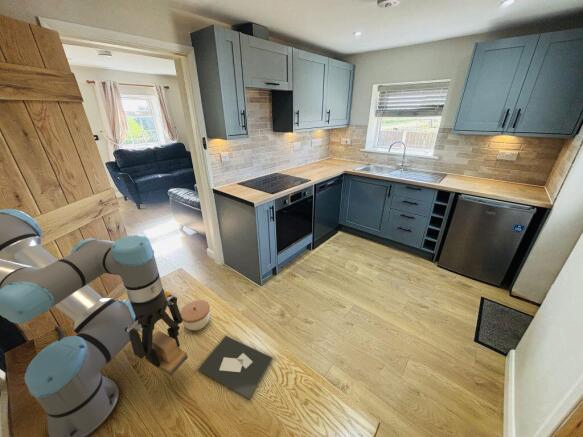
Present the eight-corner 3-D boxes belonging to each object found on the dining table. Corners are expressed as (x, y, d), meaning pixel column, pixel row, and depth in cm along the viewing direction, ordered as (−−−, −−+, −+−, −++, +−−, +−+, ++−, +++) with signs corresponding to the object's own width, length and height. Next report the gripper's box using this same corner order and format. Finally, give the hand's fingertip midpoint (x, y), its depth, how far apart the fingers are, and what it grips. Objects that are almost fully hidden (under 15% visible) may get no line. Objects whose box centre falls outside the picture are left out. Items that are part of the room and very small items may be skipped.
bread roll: (177, 299, 107) (175, 292, 105) (157, 312, 100) (155, 305, 98) (167, 292, 111) (165, 285, 109) (147, 303, 104) (145, 296, 102)
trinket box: (216, 314, 99) (213, 297, 95) (205, 336, 89) (201, 318, 85) (191, 312, 100) (187, 295, 96) (178, 334, 90) (173, 316, 86)
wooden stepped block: (147, 361, 70) (139, 341, 66) (164, 344, 75) (158, 325, 71) (171, 376, 66) (164, 355, 62) (187, 357, 71) (182, 337, 67)
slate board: (198, 370, 78) (197, 369, 77) (226, 337, 89) (225, 335, 89) (249, 399, 70) (249, 398, 70) (272, 359, 82) (272, 357, 81)
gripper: (117, 327, 51) (144, 391, 60) (187, 276, 66) (199, 334, 76) (96, 315, 54) (125, 378, 63) (168, 268, 69) (182, 325, 79)
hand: (166, 354), depth 70 cm, fingers closed on wooden stepped block, 6 cm apart
